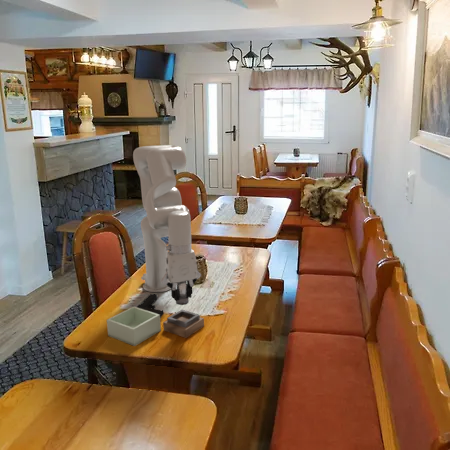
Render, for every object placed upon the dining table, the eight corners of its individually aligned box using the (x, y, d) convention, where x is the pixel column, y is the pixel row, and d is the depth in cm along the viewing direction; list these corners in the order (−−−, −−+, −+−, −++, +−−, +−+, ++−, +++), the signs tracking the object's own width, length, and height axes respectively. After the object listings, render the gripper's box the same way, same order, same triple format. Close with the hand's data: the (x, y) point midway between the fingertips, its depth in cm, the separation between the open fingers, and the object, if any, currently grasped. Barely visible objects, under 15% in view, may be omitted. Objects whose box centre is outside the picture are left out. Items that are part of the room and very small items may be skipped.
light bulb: (178, 306, 159) (177, 284, 156) (174, 300, 162) (173, 279, 160) (190, 303, 160) (189, 282, 158) (185, 298, 164) (185, 277, 162)
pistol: (175, 294, 186) (149, 291, 189) (157, 315, 168) (127, 311, 170) (175, 302, 187) (149, 299, 190) (157, 324, 168) (128, 319, 171)
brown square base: (163, 330, 162) (163, 318, 161) (182, 319, 170) (181, 307, 169) (186, 337, 157) (185, 325, 155) (204, 326, 164) (203, 314, 163)
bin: (108, 335, 159) (106, 319, 157) (134, 321, 169) (133, 306, 167) (134, 346, 152) (133, 329, 150) (160, 330, 162) (159, 314, 160)
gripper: (159, 255, 149) (162, 307, 154) (207, 247, 156) (208, 297, 161) (152, 248, 156) (155, 298, 161) (199, 240, 162) (200, 289, 168)
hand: (182, 297), depth 161 cm, fingers closed on light bulb, 4 cm apart
